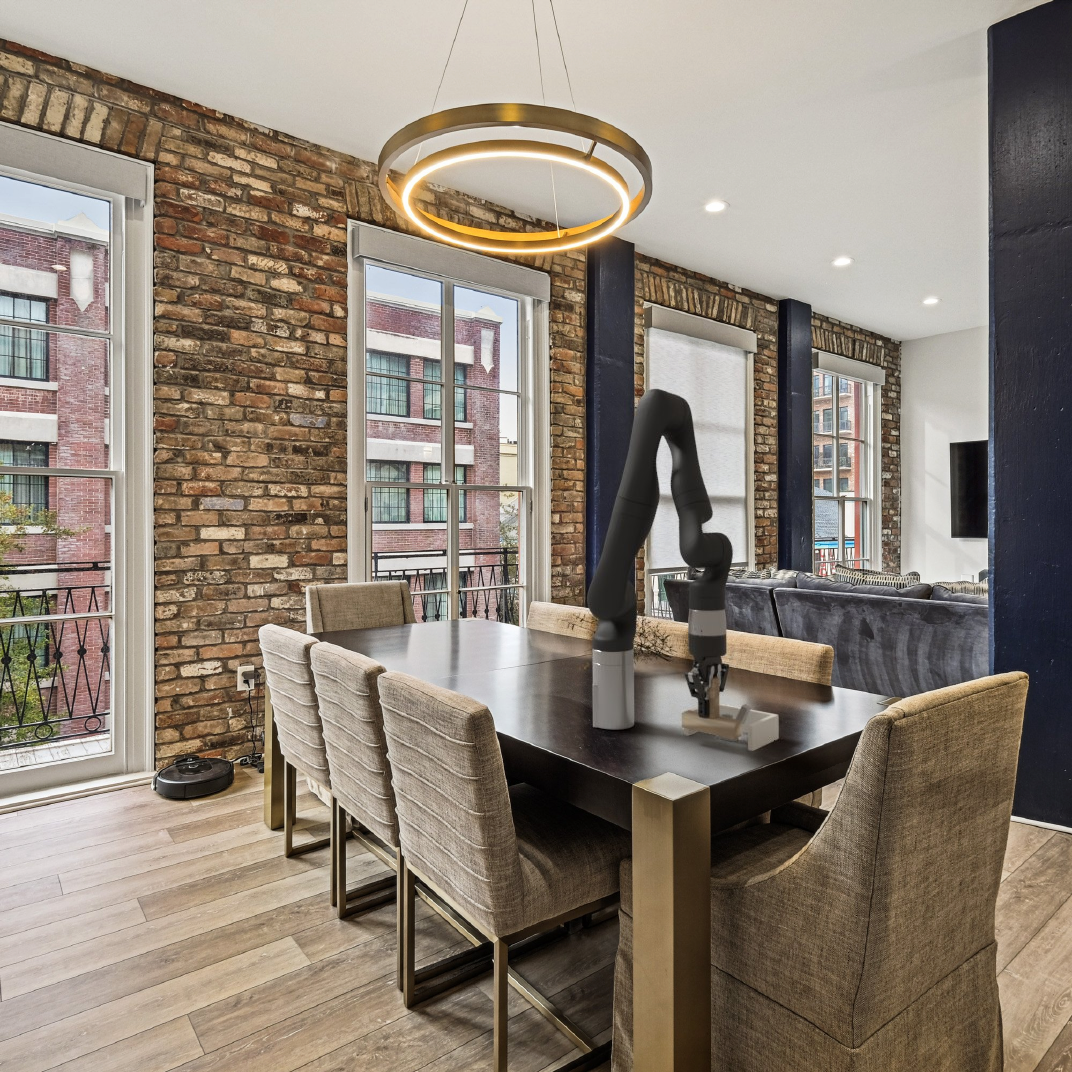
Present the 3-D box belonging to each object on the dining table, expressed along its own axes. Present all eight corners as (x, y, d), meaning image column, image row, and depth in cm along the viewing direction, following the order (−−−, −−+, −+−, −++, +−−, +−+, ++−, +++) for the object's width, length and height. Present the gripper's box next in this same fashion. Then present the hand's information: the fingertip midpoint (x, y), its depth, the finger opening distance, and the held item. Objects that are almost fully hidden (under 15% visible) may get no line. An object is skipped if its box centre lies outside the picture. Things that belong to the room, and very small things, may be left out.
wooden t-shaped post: (734, 739, 143) (734, 683, 142) (681, 727, 151) (681, 674, 151) (741, 735, 145) (741, 680, 144) (689, 724, 153) (689, 672, 153)
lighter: (716, 738, 154) (716, 700, 154) (721, 736, 155) (720, 698, 155) (747, 745, 149) (747, 706, 149) (751, 743, 150) (751, 704, 150)
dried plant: (669, 607, 234) (549, 553, 221) (721, 629, 205) (585, 568, 191) (631, 694, 234) (508, 645, 220) (677, 728, 204) (538, 675, 190)
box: (752, 750, 145) (752, 726, 145) (684, 734, 156) (683, 711, 156) (778, 738, 153) (778, 714, 153) (711, 724, 164) (711, 701, 164)
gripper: (705, 637, 140) (705, 727, 141) (741, 628, 150) (741, 712, 151) (672, 633, 146) (672, 719, 146) (709, 625, 155) (709, 706, 156)
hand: (707, 715), depth 148 cm, fingers closed on wooden t-shaped post, 2 cm apart
